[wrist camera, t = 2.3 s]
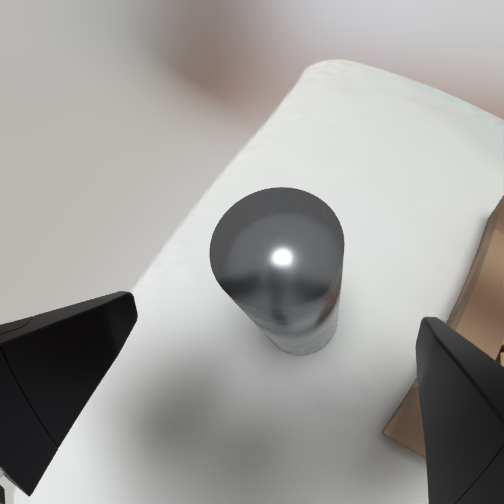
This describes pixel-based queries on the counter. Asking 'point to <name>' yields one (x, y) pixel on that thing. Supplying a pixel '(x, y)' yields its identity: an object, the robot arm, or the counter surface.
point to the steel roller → (282, 265)
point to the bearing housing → (466, 324)
